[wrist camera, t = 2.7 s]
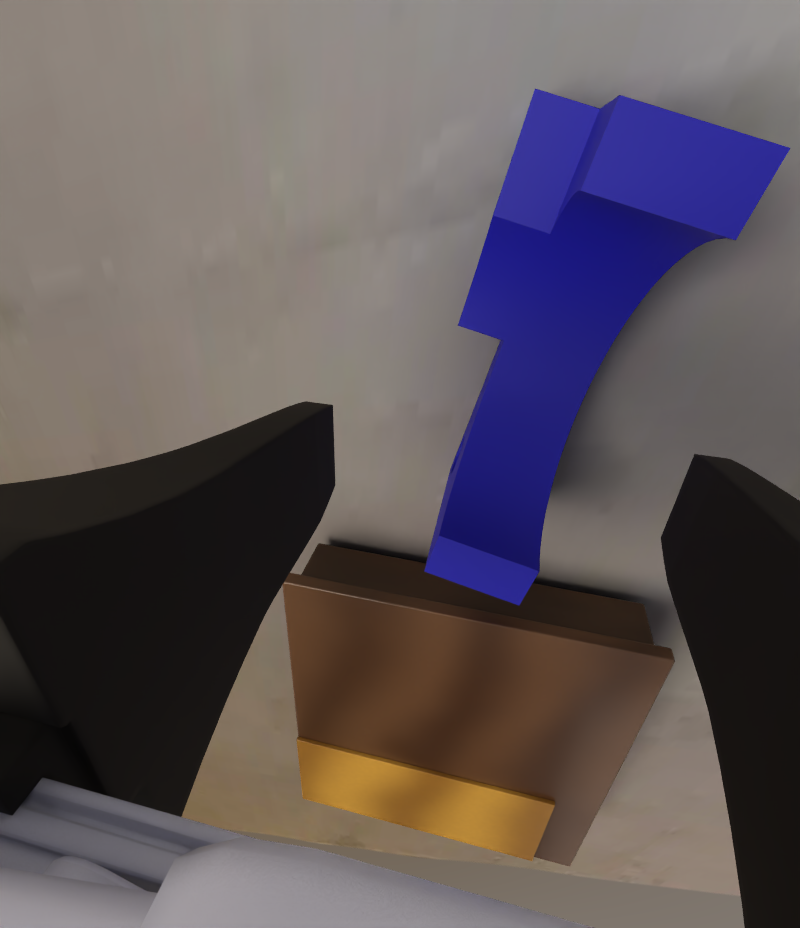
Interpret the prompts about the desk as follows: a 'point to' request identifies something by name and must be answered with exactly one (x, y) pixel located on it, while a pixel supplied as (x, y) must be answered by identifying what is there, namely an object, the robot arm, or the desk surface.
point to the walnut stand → (464, 700)
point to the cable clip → (573, 300)
